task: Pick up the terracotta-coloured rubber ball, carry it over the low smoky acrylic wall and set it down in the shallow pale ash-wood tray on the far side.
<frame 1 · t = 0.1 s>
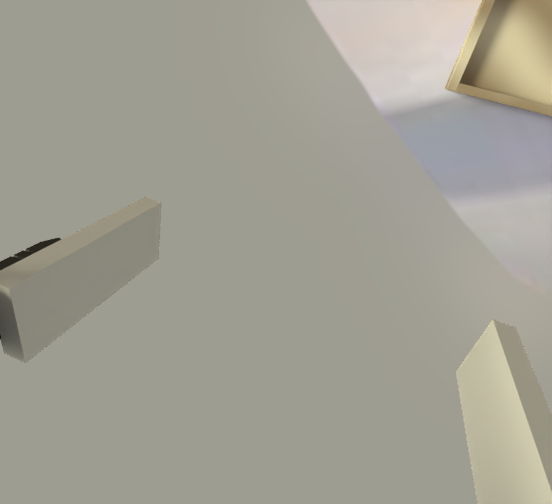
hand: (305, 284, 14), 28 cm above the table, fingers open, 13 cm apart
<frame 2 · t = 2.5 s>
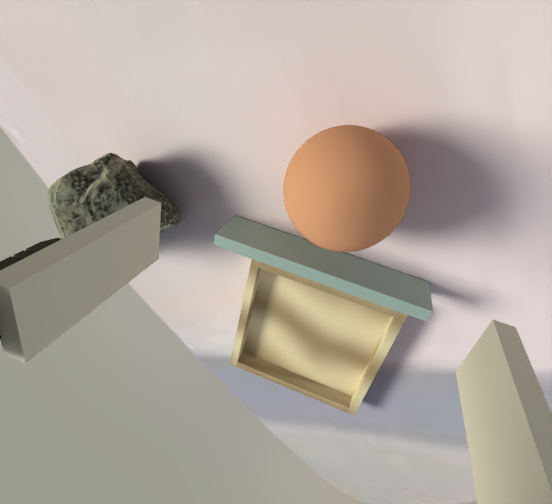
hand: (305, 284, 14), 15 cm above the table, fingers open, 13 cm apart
wall: (326, 252, 30), on the table
ball: (352, 173, 27), on the table
tray: (311, 328, 35), on the table
stone: (142, 196, 34), on the table
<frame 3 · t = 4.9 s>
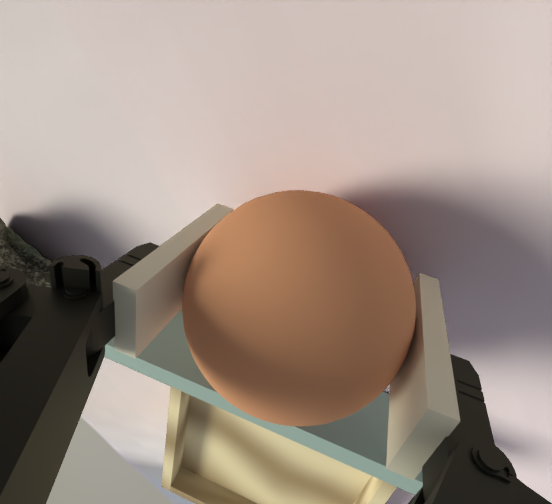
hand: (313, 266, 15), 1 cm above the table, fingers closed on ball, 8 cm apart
wall: (285, 358, 20), on the table
ball: (319, 253, 16), on the table, touching gripper
tray: (271, 450, 24), on the table
stone: (26, 261, 24), on the table
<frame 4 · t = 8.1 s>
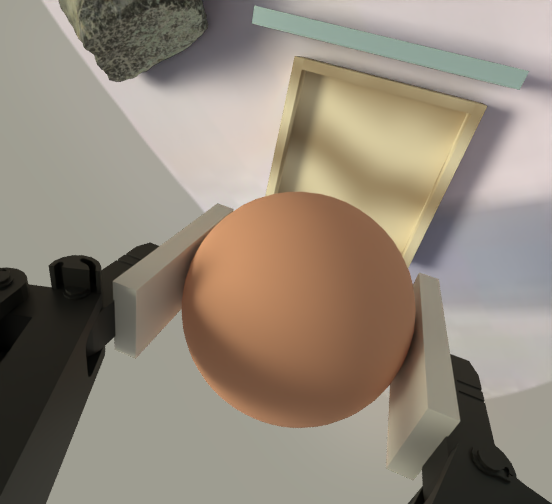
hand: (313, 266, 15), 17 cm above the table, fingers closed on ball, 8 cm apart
wall: (383, 47, 25), on the table
ball: (319, 254, 16), point 16 cm above the table, touching gripper
tray: (358, 166, 30), on the table
stone: (162, 8, 29), on the table
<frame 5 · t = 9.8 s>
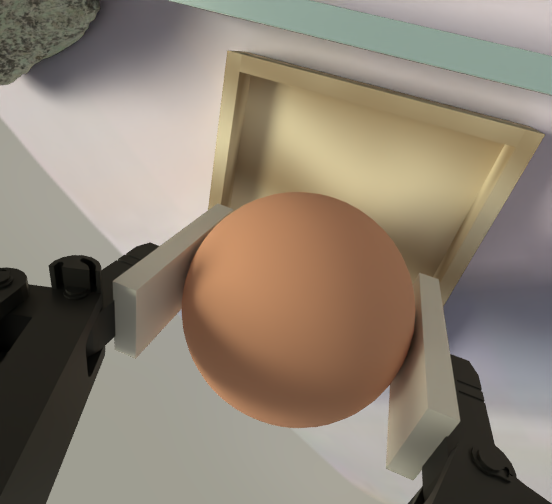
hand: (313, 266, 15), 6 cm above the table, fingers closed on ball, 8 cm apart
wall: (370, 36, 16), on the table
ball: (319, 254, 16), point 4 cm above the table, touching gripper
tray: (335, 215, 20), on the table
when the fingers open (3 cm above the table, at t = 11.3 s): ball drops 1 cm, resting on tray.
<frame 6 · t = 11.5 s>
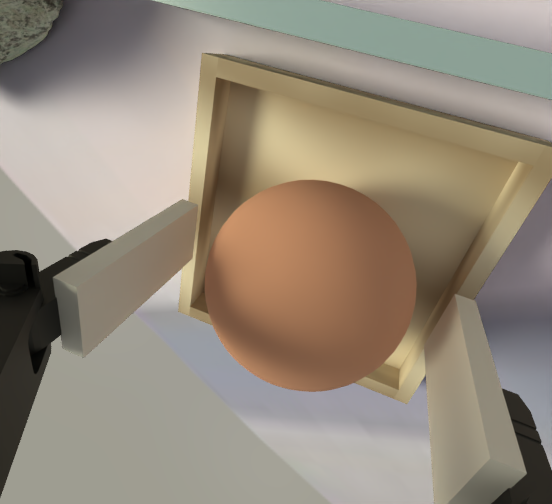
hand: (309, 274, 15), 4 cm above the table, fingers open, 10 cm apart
wall: (364, 37, 14), on the table
ball: (324, 239, 18), point 1 cm above the table, touching tray
tray: (327, 235, 18), on the table
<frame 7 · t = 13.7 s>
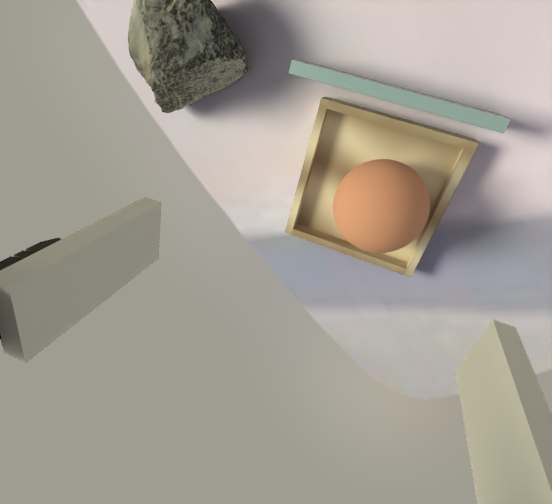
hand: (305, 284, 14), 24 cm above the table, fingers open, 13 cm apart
wall: (394, 92, 31), on the table
ball: (369, 189, 34), point 1 cm above the table, tilted 18°, touching tray
tray: (370, 187, 35), on the table
stone: (207, 53, 35), on the table
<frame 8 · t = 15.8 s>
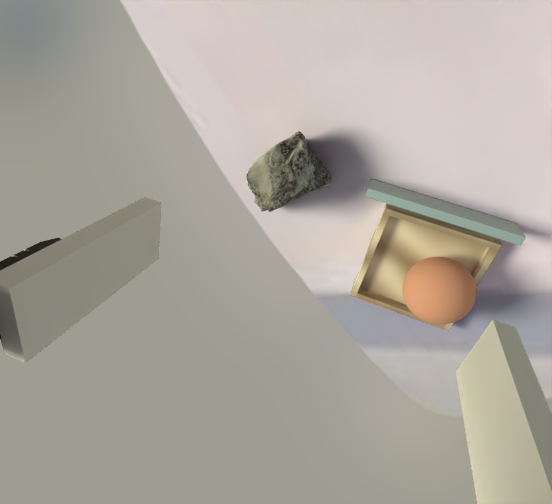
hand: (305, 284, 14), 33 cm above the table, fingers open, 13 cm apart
wall: (439, 204, 43), on the table
ball: (419, 269, 46), point 1 cm above the table, tilted 33°, touching tray
tray: (418, 265, 47), on the table
stone: (295, 167, 46), on the table
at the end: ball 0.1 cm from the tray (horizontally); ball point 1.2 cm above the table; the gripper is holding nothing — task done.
